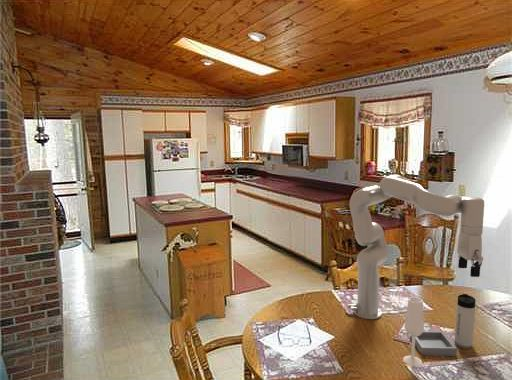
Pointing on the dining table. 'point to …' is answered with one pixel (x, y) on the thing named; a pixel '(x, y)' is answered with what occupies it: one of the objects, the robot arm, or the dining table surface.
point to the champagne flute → (414, 327)
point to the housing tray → (434, 344)
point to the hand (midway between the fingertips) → (468, 272)
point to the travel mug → (465, 321)
